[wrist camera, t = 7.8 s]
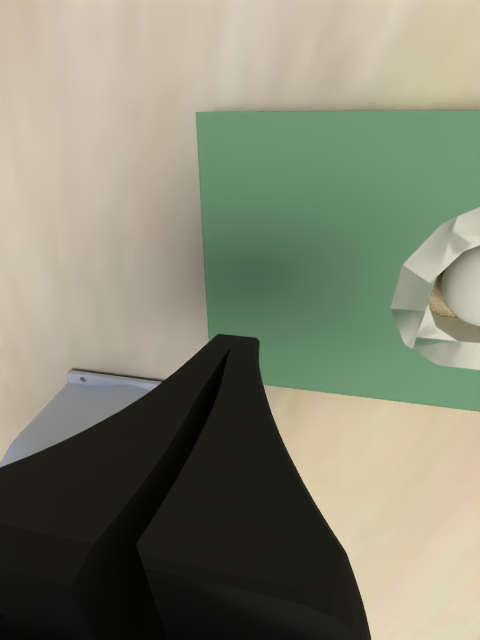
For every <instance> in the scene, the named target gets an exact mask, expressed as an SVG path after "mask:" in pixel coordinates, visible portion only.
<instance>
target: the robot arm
mask: <svg viewBox="0 0 480 640" xmlns="http://www.w3.org/2000/svg"><path fill="white" fill-rule="evenodd" d="M259 348H260V341H259V340H258V339H257V338H256V337H246V336H236V335H226V334H217V335H216V336H215V337H214V338H213V339H212V340H210V341H209V342H208V343H207V344H206V345H205V346H204V347H203V348H202V349H201V350H200V351H199V352H198V353H196V354H195V355H194V356H193V357H192V358H191V359H190V360H189V361H187V362H186V363H185V364H184V365H183V366H182V367H180V368H179V369H178V370H177V371H176V372H175V373H173V374H172V375H171V376H169V377H168V378H167V379H166V380H164V381H163V382H159V381H151V380H143V379H136V378H128V377H120V376H113V375H105V374H97V373H89V372H82V371H74V370H70V371H69V372H68V373H67V374H66V378H67V381H68V384H67V385H66V386H65V387H64V388H63V389H62V390H61V391H60V392H59V393H58V394H57V395H56V396H55V397H54V398H53V400H52V401H51V402H50V403H49V404H48V405H47V406H46V407H45V408H44V409H43V410H42V411H41V412H40V413H39V414H38V415H37V416H36V417H35V419H34V420H33V421H32V422H31V423H30V424H29V425H28V426H27V427H26V428H25V429H24V430H23V431H22V432H21V433H20V434H19V435H18V436H17V438H16V439H15V440H14V441H13V443H12V444H11V445H10V447H9V448H8V450H7V452H6V454H5V455H4V457H3V459H2V462H1V464H0V640H371V635H370V631H369V626H368V621H367V617H366V613H365V609H364V605H363V602H362V598H361V595H360V592H359V589H358V585H357V582H356V579H355V576H354V573H353V571H352V568H351V565H350V562H349V559H348V556H347V553H346V551H345V550H344V548H343V547H342V545H341V544H340V542H339V541H338V539H337V537H336V536H335V534H334V533H333V531H332V530H331V528H330V527H329V525H328V523H327V522H326V520H325V519H324V517H323V515H322V514H321V512H320V511H319V509H318V507H317V506H316V504H315V502H314V500H313V499H312V497H311V495H310V493H309V492H308V490H307V488H306V486H305V485H304V483H303V481H302V479H301V477H300V475H299V473H298V471H297V469H296V467H295V465H294V463H293V461H292V459H291V457H290V455H289V453H288V451H287V449H286V447H285V445H284V443H283V440H282V438H281V436H280V433H279V431H278V428H277V426H276V423H275V421H274V418H273V415H272V413H271V410H270V407H269V404H268V400H267V397H266V394H265V390H264V386H263V382H262V377H261V372H260V367H259Z"/></svg>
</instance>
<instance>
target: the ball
mask: <svg viewBox="0 0 480 640" xmlns="http://www.w3.org/2000/svg"><path fill="white" fill-rule="evenodd" d="M441 291H442V296H443V299H444V302H445V304H446V305H447V307H448V308H449V309H450V311H451V312H452V313H453V314H454V315H456V316H457V317H458V318H460V319H461V320H463V321H465V322H467V323H470V324H473V325H476V326H480V245H479V246H477V247H474V248H471V249H469V250H466V251H464V252H462V253H461V254H460V255H459V256H458V257H457V258H456V259H455V260H454V261H453V262H452V263H451V264H450V265H449V266H448V267H447V268H446V269H445V272H444V274H443V277H442V281H441Z"/></svg>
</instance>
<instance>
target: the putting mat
mask: <svg viewBox="0 0 480 640" xmlns="http://www.w3.org/2000/svg"><path fill="white" fill-rule="evenodd" d="M196 123H197V141H198V158H199V176H200V194H201V211H202V229H203V246H204V264H205V282H206V299H207V317H208V335H209V341H210V340H212V339H213V338H214V337H215V336H216V335H217V334H226V335H236V336H246V337H256V338H257V339H258V340H259V341H260V348H259V367H260V372H261V377H262V382H263V385H270V386H278V387H286V388H294V389H303V390H311V391H319V392H327V393H335V394H343V395H351V396H359V397H367V398H375V399H383V400H391V401H399V402H407V403H415V404H423V405H431V406H439V407H447V408H455V409H463V410H471V411H479V412H480V326H476V325H473V324H470V323H467V322H465V321H463V320H461V319H460V318H454V317H442V316H439V315H437V314H436V313H434V312H433V311H431V310H430V308H429V305H428V302H429V299H430V296H431V293H432V290H433V287H434V284H435V281H436V278H437V276H438V275H439V274H440V273H441V272H442V271H443V270H445V269H446V268H447V267H448V266H449V265H450V264H451V263H452V262H453V261H454V260H455V259H456V258H457V257H458V256H459V255H460V254H461V253H462V252H464V251H466V250H469V249H471V248H474V247H477V246H479V245H480V110H454V111H289V112H196Z"/></svg>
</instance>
